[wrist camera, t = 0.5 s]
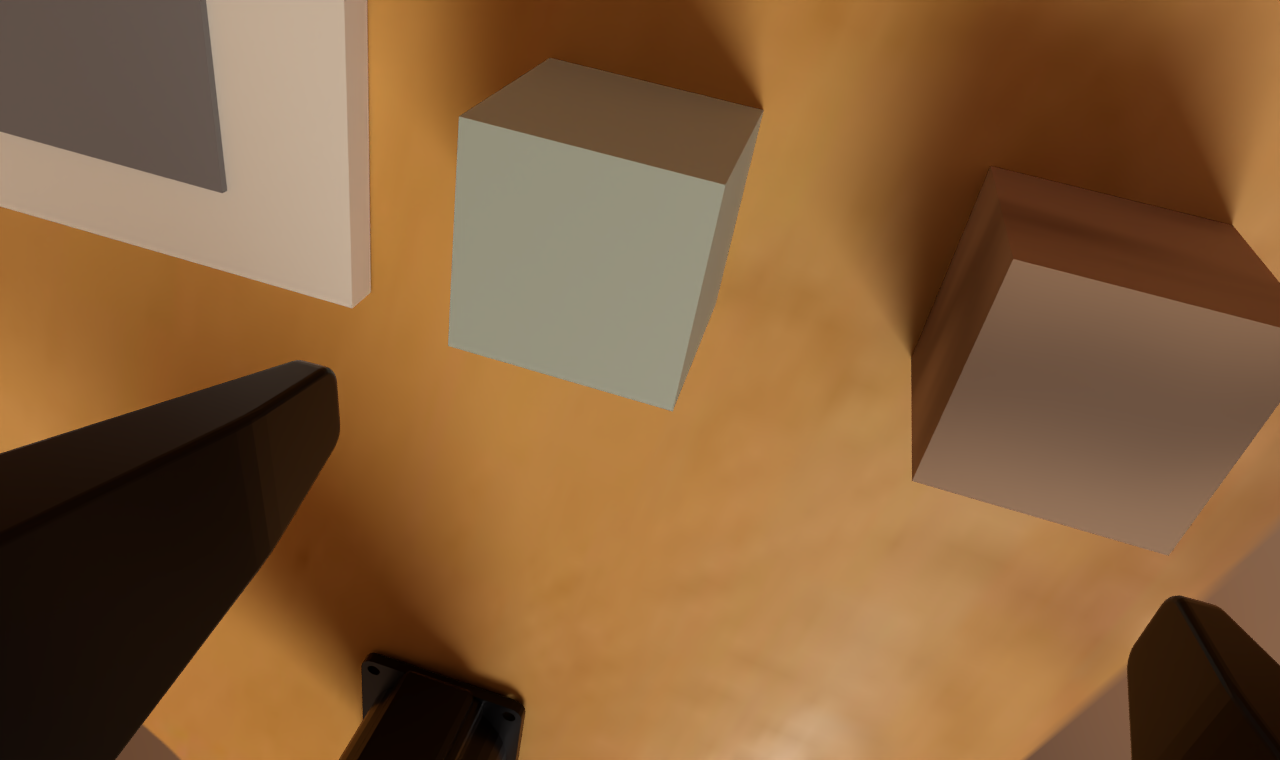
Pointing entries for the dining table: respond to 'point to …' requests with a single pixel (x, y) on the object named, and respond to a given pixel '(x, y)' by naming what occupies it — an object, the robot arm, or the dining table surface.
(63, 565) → the robot arm
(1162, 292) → the walnut block
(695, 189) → the grey-green block
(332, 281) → the white flat plate
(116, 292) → the dining table surface
